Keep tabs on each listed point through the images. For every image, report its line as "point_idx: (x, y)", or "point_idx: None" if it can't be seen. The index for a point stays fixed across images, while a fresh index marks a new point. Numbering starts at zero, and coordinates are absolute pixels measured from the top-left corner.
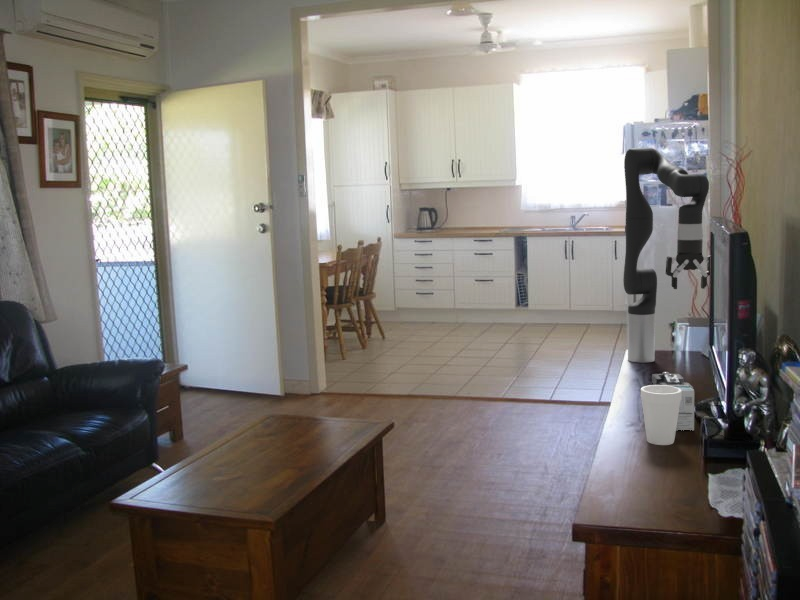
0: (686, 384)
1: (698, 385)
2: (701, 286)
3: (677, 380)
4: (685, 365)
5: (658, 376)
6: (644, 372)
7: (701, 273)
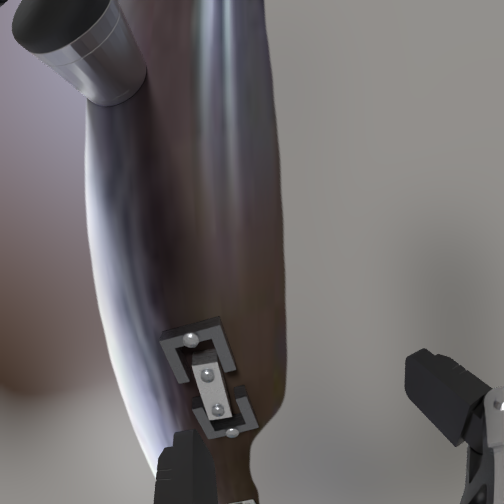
0: (244, 410)
1: (263, 325)
2: (413, 375)
3: (226, 407)
4: (225, 102)
5: (178, 361)
6: (127, 216)
7: (469, 468)
